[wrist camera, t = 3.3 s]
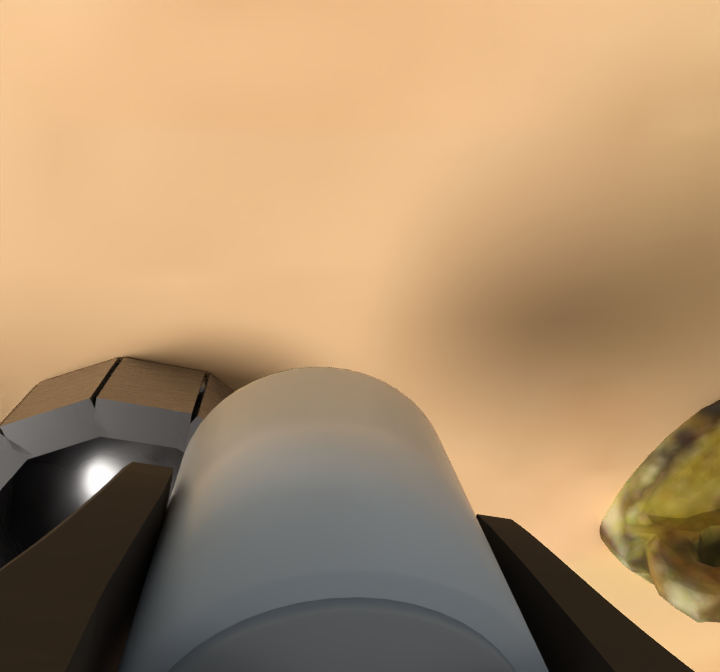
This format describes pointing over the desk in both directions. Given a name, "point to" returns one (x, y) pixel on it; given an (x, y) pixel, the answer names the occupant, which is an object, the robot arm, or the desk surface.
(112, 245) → the desk surface
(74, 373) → the dark grey ring
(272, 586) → the cap
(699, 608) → the olive stemmed piece
